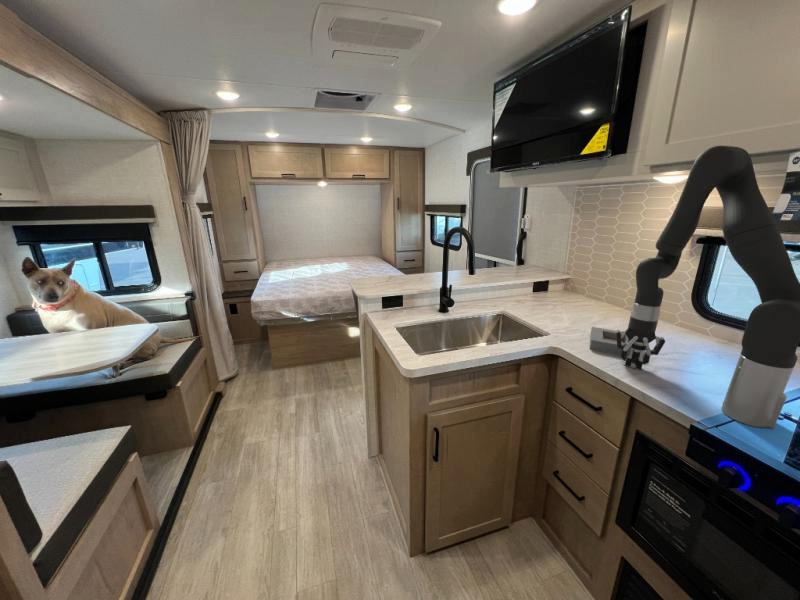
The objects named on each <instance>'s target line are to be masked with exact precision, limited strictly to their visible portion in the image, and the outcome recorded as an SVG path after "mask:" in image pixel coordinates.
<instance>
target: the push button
mask: <svg viewBox="0 0 800 600" xmlns="http://www.w3.org/2000/svg"><path fill="white" fill-rule="evenodd" d="M645 348H647V347H646V346H644V343H643V342H637V341H635V342H634V344H632V346H631V351H630V355H629V356H628V357H627V356H626V360H625V361H624V360H623V359H622V358H620V360H621V361H619V362H620V363H621V364H624V366H626V367H629V366H630V368H632V369H636V368H637V370H638V369H639V371H641V370H642V367H643V365H644V364H643V357H644V353H645V352H644V351H646V349H645ZM633 349H634V351H633ZM640 351H641V353H640ZM632 353H633V354H632Z"/></svg>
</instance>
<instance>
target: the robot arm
mask: <svg viewBox="0 0 800 600" xmlns="http://www.w3.org/2000/svg"><path fill="white" fill-rule="evenodd" d="M753 164H754V163H753V161H752V158H751V154H750V153H749V152H748V150H746V149H744V148H742V147H739V146H733V145H732V146H730V145H716V146H715V145H714V146H712V147H710V148H707V149H705V150H704V151H702V152H700V154H699V155H698V156H697V157H696V158H695V160H694V163H693V164H692V166H691V168H690V171H689V174H688V177H687V179H686V181H685V184H684V186H683V189H682V192H681V194H680V196H679V199H678V201H677V203H676V206H675V208H674V209H673V213H672V214H671V216H670V219H669V220H668V221H667V223H666V226H665V227H664V228H663V230H662V232H661V233H660V236H659V237H658V239H657V241H656V243H655V249H656V250H658V251H657V254H656V256H655V257H648V258H644V259H643V260H641V261H640V262H639V263H638V265H637V268H636V269H635V270H636V271H635V282H636V293H635V298H634V303H633V306H632V308H631V311H630V316H629V321H628V326H627V328H626V330H619V329H618V330H615V331H616V337H617V347H618V348H620V349H622V353H621V355H620V357H621V358H620V359H623V360H624V361H623V360H622V361H623V362H626V361H625V360H626V359H627V350H628V349H629V347H631V346H632V344H634V342H635V341H637V342H643V343H644V346H646V347H647V348H645V349H646V350H645V352H643V356H642V361H643V365H645V366H646V365H647V364H649V362H650V359H651V356H653V355H654V356H658V355H659V354H660V353H661V352H660V351H661V350H662V348H663V347H664V345H665V343H666V340H665V338H664V337H662V336H657V335H656V330H657V325H658V322H659V317H660V314H661V306H662V302H663V299H664V298H663V297H664V293H665V292H664V289H663V288H662V287H659V280H662V279H663V280H664V279H666V278H668V277H670V276H671V275H672V274H673V273H674V272H675V271H676V269H677V268H678V266H679V262H680V260H681V257H682V254H683V251H684V249H685V248H686V246H687V245H688V243H689V242H690V240H691V239H692V237H693V236H694V234H695V232H696V230H697V227H698V226H699V222H700V219H701V215H702V211H703V208H704V205H705V204H706V201H707V199H708V198H709V197H710V194H711V193H712V192H713V191H714V190H715V188H716V191H717V193H718V195H719V197H720V199H721V203H722V208H723V212H722V213H723V214H722V215H723V216H722V233H723V237H724V240H725V242H726V245H727V247H728V250H729V253H730V255H731V256H732V258H733V260H734V261H735V262H736V263H737V265H738V266H739V267H740V268H741V269H742V270H743V271H744V272H745V274H746V275H747V276H748V277H749V278H750V279H751V280H752V282H753V284H754V285H755V288H756V290H757V293H758V295H759V299H760V302H761V303H760V304H758V305H757V306H755V307H754V308H753V309H752V311H751V312H750V314H749V316H748V319H747V321H746V325H745V328H744V330H743V335H742V338H741V347H742V348H741V351H740V354H739V357H738V360H737V363H736V364H735V365H736V366H735V369H734V371H733V374H732V377H731V381H730V383H729V385H728V388H727V391H726V394H725V397H724V399H723V402H722V405H721V408H720V409H721V411H722V413H723V414H725V415H726V416H727V417H729V418H730V419H733V420H734V421H737V422H739V423H742V424H745V425H747V426H751V427H756V428H771V429H775V426H776V424H777V422H778V419H779V417H780V414H781V412H782V410H783V407H784V405H785V403H786V401H787V398H788V396H787V395H786V394H785V393H784V392H785V390H786V387H787V385H788V383H789V380H790V378H791V375H792V373H793V370H794V368H795V366H796V364H797V362H798V355H797V349H798V346H799V344H800V281H799V279H798V277H797V275H796V273H795V270H794V267H793V264H792V261H791V258H790V256H789V253H788V250H787V248H786V246H785V243H784V240H783V238H782V234H781V233H780V230H779V228H778V225H777V223H776V221H775V220H774V217H773V215H772V213H771V210H770V208H769V206H768V204H767V202H766V201H765V198H764V196H763V194H762V192H761V190H760V188H759V185H758V181H757V176H756V173H755V169H754V165H753ZM624 335H626V336H627V337H628V340H627V341H626V343H625V344H624V345H622V344H621V338H622V337H623V336H624ZM654 340H655V345H654V346H653V349H651V348H650V343H652V342H653V341H654Z"/></svg>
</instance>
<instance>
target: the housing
mask: <svg viewBox="0 0 800 600" xmlns="http://www.w3.org/2000/svg"><path fill="white" fill-rule="evenodd" d="M616 331H617V330H615V329H614V330H613V329H608V328H601V327H595V326H591V329H590V334H589V350H593V351H598V352H602V353H608V354H613V355H617V356H621V353H622V349H620V348H618V347H617V337H616ZM627 340H628V337H627V336H626V335H624V336H623V337H622V338H621V344H622V345H624V344H625V343H626V341H627ZM630 351H631V347H629V349H628V350H627V356H626V358H627V357H628V356H629V355H630ZM633 351H634V349H633ZM632 354H633V353H632ZM640 354H641V351H640Z"/></svg>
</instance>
